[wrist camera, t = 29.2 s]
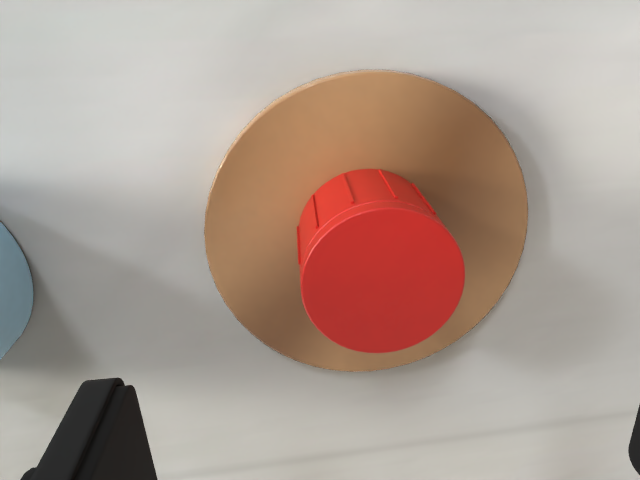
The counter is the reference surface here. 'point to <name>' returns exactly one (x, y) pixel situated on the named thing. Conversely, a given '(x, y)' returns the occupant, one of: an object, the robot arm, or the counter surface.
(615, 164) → the counter surface
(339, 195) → the cap
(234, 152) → the coaster
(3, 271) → the bottle
